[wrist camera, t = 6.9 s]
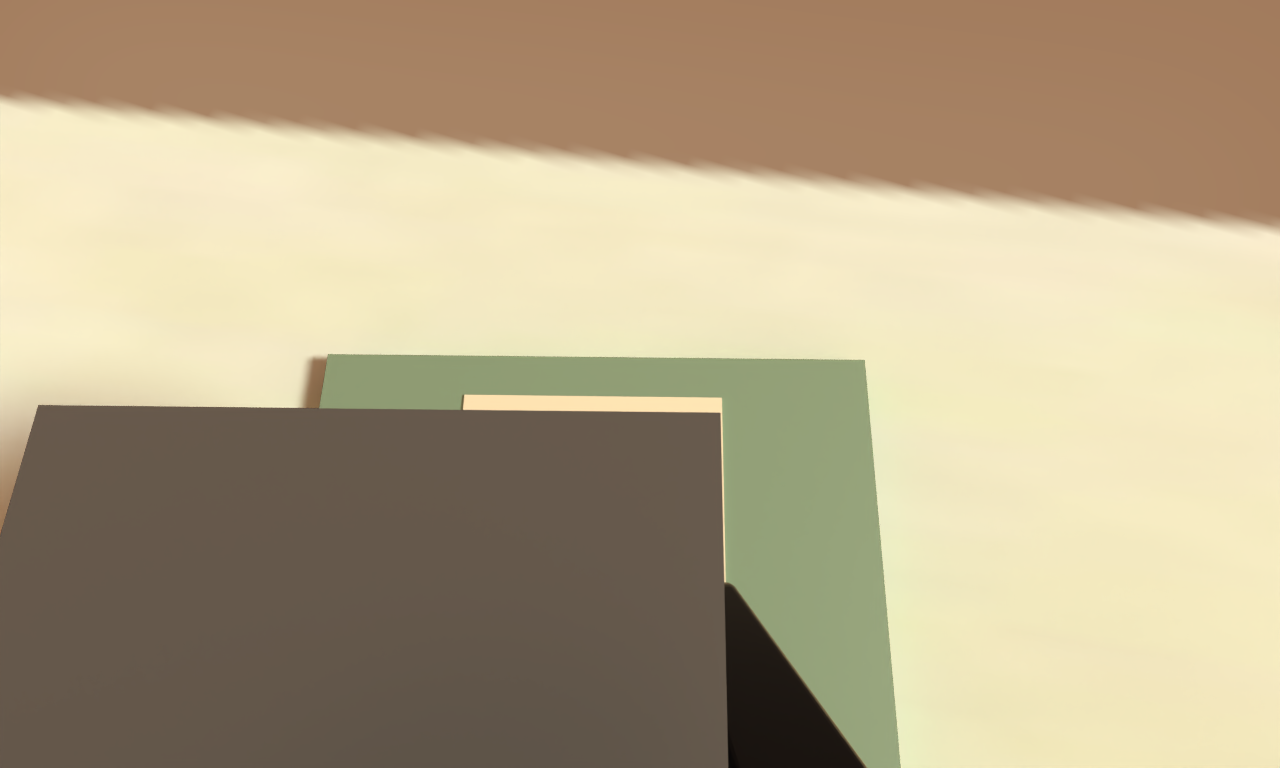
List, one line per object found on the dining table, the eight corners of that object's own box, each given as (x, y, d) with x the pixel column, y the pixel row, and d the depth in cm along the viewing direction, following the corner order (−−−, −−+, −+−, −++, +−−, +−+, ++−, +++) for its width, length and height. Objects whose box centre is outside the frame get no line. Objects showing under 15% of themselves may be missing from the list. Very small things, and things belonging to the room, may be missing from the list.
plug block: (672, 852, 12) (744, 1574, 3) (420, 847, 13) (-294, 1531, 3) (673, 556, 14) (720, 413, 5) (449, 553, 14) (40, 405, 5)
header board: (927, 1225, 16) (975, 1330, 14) (209, 1203, 16) (134, 1301, 14) (855, 371, 22) (880, 340, 20) (341, 365, 22) (305, 335, 20)
